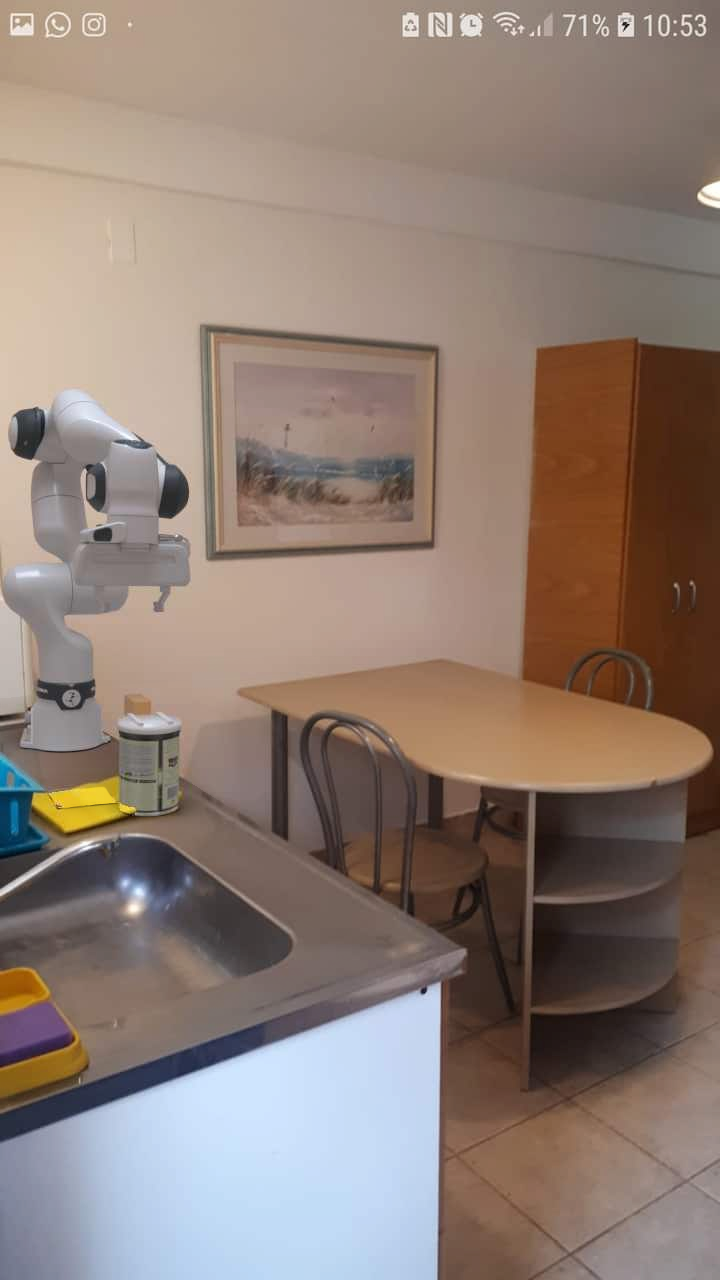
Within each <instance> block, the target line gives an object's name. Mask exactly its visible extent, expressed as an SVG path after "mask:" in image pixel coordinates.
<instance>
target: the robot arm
mask: <svg viewBox="0 0 720 1280" xmlns="http://www.w3.org/2000/svg"><path fill="white" fill-rule="evenodd" d="M10 419H11V420H10V422H9V424H8V425H9V426H8V429H7V437H8V441H9V446H10V450H11V451H12V452H13V454H14V455H15V456H16V457H19V458H22V459H24V460H29V461H32V460H35V461H39V462H38V463H37V464H36V465H35V467H34V468H33V470H32V476H31V484H30V508H31V516H32V526H33V537H34V540H35V542H36V543H37V545H38V546H39V547H40V548H41V549H42V550H44V551H45V552H46V553H49V554H50V555H53V556H54V557H56V558H58V559H59V560H60V561H61V562H30V563H29V562H28V563H23V564H18V565H14V566H11V567H10V568H9V569H8V571H7V572H6V573H5V575H4V577H3V579H2V581H1V595H2V598H3V600H4V603H5V604H6V606H7V607H8V608H9V610H11V611H12V612H14V613H15V614H16V615H18V616H19V617H20V618H21V619H23V621H24V622H25V623H26V624H27V626H28V627H29V629H31V632H32V633H33V635H34V638H35V641H36V647H37V655H38V669H39V670H38V671H39V673H38V676H39V678H38V679H37V681H36V688H35V689H36V696H37V698H36V700H35V702H34V704H33V705H32V707H31V708H30V710H27V711H25V712H24V723H30V724H27V726H26V727H24V728H23V732H22V735H21V737H20V742H19V747H20V748H27V749H35V750H40V751H49V752H72V751H73V752H74V751H82V750H88V749H92V748H95V747H96V748H97V747H98V746H100V745H102V744H106V743H109V742H108V741H110V740H111V736H110V735H107V734H106V733H104V720H103V719H104V718H103V706H102V705H103V704H101V703H100V702H99V701H98V700H97V699H96V698H95V696H96V688H97V685H96V679H95V678H94V646H93V643H92V641H91V640H90V639H89V638H88V637H87V636H85V635H84V634H82V633H81V632H78V631H76V630H74V629H72V628H69V627H68V626H67V625H66V621H65V616H70V615H71V616H75V615H76V616H77V615H80V616H81V615H83V616H84V615H85V616H87V615H88V616H89V615H94V616H95V615H103V614H107V613H113V612H117V611H119V610H121V609H122V607H124V605H125V604H126V602H127V599H128V597H129V591H130V587H159V592H160V593H161V595H160V597H159V599H158V601H153V609H152V610H153V612H154V613H164V611H165V602H166V601H167V599H168V597H170V594H171V587H187V586H188V585H189V584H190V582H191V566H190V560H189V558H190V556H191V543H190V541H189V539H188V538H186V537H184V535H181V534H173V535H172V534H168V533H166V534H164V533H162V534H160V533H159V532H160V531H159V529H160V528H159V525H160V524H159V519H166V520H167V519H168V520H172V519H174V518H175V517H176V516H177V515H179V514H180V513H181V512H182V511H184V509H185V508H186V506H187V505H188V503H189V498H190V487H189V485H190V484H189V482H188V479H187V477H186V476H185V473H183V472H182V470H181V469H180V468H179V467H178V466H177V465H176V464H171V463H169V462H167V461H166V460H165V459H164V458H163V457H162V456H161V455H160V454H159V453H158V452H157V451H156V447H155V446H154V445H153V444H151V443H150V442H148V441H145V440H144V439H143V438H142V437H141V436H139V435H137V434H136V433H134V432H133V431H130V430H129V429H128V428H126V427H124V426H123V425H122V424H120V423H119V422H118V421H116V420H115V419H113V417H112V416H110V415H109V414H108V413H107V411H106V409H104V407H103V405H102V404H100V403H99V401H97V400H96V399H95V398H94V397H93V396H92V395H90V394H89V393H88V392H86V391H84V390H82V389H78V388H70V389H66V390H63V391H62V392H60V393H58V394H57V395H56V396H55V398H54V399H53V401H52V404H51V406H50V409H41V408H39V407H38V406H34V407H32V408H25V409H20V410H18V411H17V412H15V413H14V414H13V415H12V417H11V418H10ZM84 470H86V472H85V473H86V474H85V499H84V494H83V489H82V484H81V481H82V480H81V479H82V474H83V471H84ZM84 500H86V502H87V503H88V505H90V507H91V508H92V509H94V510H95V511H96V512H98V513H101V514H105V515H106V523H102V524H101V523H100V524H97V525H95V526H91V527H88V526H89V525H88V522H87V516H86V510H85V509H86V508H85V501H84ZM183 540H184V541H183ZM111 741H112V740H111ZM111 741H110V742H111Z"/></svg>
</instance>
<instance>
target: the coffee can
mask: <svg viewBox="0 0 720 1280" xmlns="http://www.w3.org/2000/svg"><path fill="white" fill-rule="evenodd" d="M180 733H181V729H180V730H178V731H176V732H172V733H166V734H155V735H143V734H132V733H126V732H122V731H120V730H119V729H118V739H119V741H118V742H119V745H118V746H119V748H118V749H119V750H118V752H119V753H118V756H119V757H118V765H119V768H118V775H119V776H118V803H119V802H120V803H121V804H122V805H125V806H128V807H134V808H135V809H136V812H135V814H134V815H135V817H156V816H163V815H164V816H165V815H168V814H171V813H174V812H176V811H177V810H178V809H179V808H180V804H179V802H180V801H179V796H180V791H179V790H180V789H179V787H180ZM134 815H133V816H134Z"/></svg>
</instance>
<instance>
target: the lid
mask: <svg viewBox="0 0 720 1280" xmlns="http://www.w3.org/2000/svg"><path fill="white" fill-rule="evenodd" d="M123 699H124V700H123V701H124V702H123V703H124V704H123V705H124V706H123V707H124V708H123V713H124V716H123V717H120V718H118V719H117V730H118V731H119V730H120V731H122V732H126V733H132V734H143V735H155V734H166V733H172V732H176V731H178V730H180V731H181V729H182V719H181V717H180V718H179V717H178V716H174V715H170V714H168V715H167V714H165V713H164V712H162V711H155V713H152V700H150V699H148V698H147V697H146V696H144V695H143V694H142V693H135V694H134V693H132V694H131V693H130V694H124V698H123Z"/></svg>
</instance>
